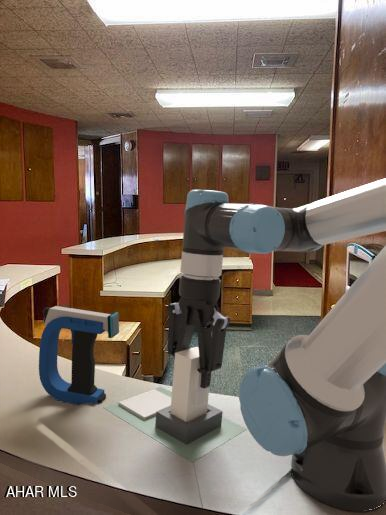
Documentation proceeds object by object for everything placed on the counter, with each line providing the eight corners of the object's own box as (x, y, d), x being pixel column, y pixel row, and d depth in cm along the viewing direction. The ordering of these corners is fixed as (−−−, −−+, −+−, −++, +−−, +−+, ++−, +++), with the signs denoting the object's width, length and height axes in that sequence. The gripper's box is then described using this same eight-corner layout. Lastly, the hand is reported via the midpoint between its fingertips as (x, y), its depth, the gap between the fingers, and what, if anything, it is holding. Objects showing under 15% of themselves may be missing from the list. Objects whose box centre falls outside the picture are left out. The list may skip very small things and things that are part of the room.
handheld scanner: (107, 411, 84) (113, 316, 82) (35, 398, 87) (40, 306, 85) (115, 402, 89) (122, 311, 87) (47, 389, 92) (51, 302, 90)
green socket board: (246, 433, 80) (248, 414, 80) (191, 468, 68) (193, 445, 68) (160, 390, 96) (161, 374, 95) (103, 412, 84) (104, 393, 83)
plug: (206, 422, 80) (212, 352, 78) (184, 433, 75) (191, 359, 74) (190, 414, 82) (196, 346, 81) (169, 424, 78) (175, 352, 76)
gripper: (251, 282, 73) (238, 409, 75) (180, 267, 84) (171, 378, 87) (225, 286, 67) (212, 422, 70) (153, 269, 78) (144, 388, 81)
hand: (190, 397), depth 78 cm, fingers closed on plug, 4 cm apart
